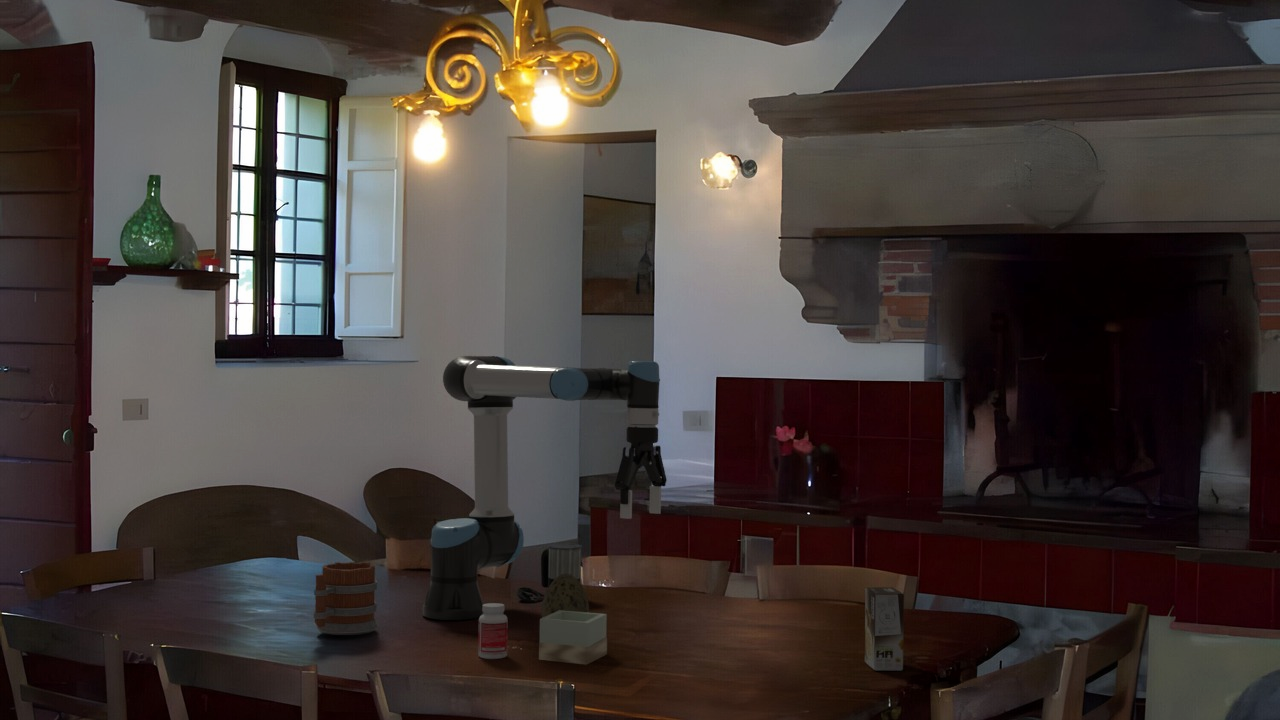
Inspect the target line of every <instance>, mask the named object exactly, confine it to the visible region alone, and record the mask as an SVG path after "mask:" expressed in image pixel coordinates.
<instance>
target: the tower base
mask: <svg viewBox="0 0 1280 720" xmlns="http://www.w3.org/2000/svg"><path fill="white" fill-rule="evenodd" d="M607 653H608V637H606V638H604V639H602V640H600V641H598V642H596V643H595V644H593V645H591V646H589V647H583V646H572V645H561V644H549V643H538V660H539V661H541V660H542V661H549V662H559V663H569V664H578V665H588V664H591V663H593V662H594V661H596V660H599V659H601V658H602V657H604V656H606V655H608V654H607Z"/></svg>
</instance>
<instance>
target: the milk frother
mask: <svg viewBox="0 0 1280 720" xmlns="http://www.w3.org/2000/svg"><path fill="white" fill-rule="evenodd" d="M547 547H548V548H545V549H544V550H543V551H542V553H541V556H540V567H541V568H540V569H541V570H540V571H541V572H540V574H541V576H540V577H541V580H540V581H541V586H542V588H547V589H548V588H549V586H550V584H551V583H552V582H553V581H554V580H555V579H556V578H557V577H558V576H559V575H561V574H571V575H573V576H574V577H575V578H576V579H577V580H578V581H579V582H580V583H581V573H582V572H581V570H582V566H581V565H582V548H583V545H581V544H578V543H577V544H576V543H567V542H566V543H565V542H564V543H563V542H558V543H550V544H548V545H547ZM516 596H517V598H518V599H520V600H522V601H524V603H530V604H531V603H534V604H535V603H539V602H543V598H544V596H545V594H543V593H541V592H539V591H538V590H535V589H533V588H530V587H524V586H522V587H519V588H518V589H517V590H516ZM534 596H535V597H536V598H533V597H534Z"/></svg>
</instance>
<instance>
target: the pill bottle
mask: <svg viewBox="0 0 1280 720" xmlns="http://www.w3.org/2000/svg"><path fill="white" fill-rule="evenodd" d="M505 610H506V609H505V604H503V603H497V602H496V603H493V602H490V603H489V602H488V603H483V607H482V611H483V612H484V613H483V615H481V616H480V617H478V645H477V649H478V651H477V652H478V657H480V658H481V659H485V660H498V659H504V658H506V657H507V655H508V639H509V638H508V634H509V633H508V632H509V631H508V626H509V625H508V623H509V621H508V617H507V615H506V614H504V612H505Z"/></svg>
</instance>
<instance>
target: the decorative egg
mask: <svg viewBox="0 0 1280 720" xmlns="http://www.w3.org/2000/svg"><path fill="white" fill-rule="evenodd" d="M544 595H545V596H544V597H543V598H542V604H541V618H543V617H545V616H548V615H550V614H552V613H555V612H557V611H559V610H563V611H575V612H587V613H590V605H589V600H588V596H587V593H586V591H585V589H584V587H583V585H582V584H581V581H580V582H579V581H578V580H577V579H576V578H575V577H574V576H573V575H571V574H561V575H559V576H558V577H557V578H556V579H555V580H554V581H553V582H552V583H551V584H550V586H549V588H548V587H547V590H546V592H545V594H544Z"/></svg>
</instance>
